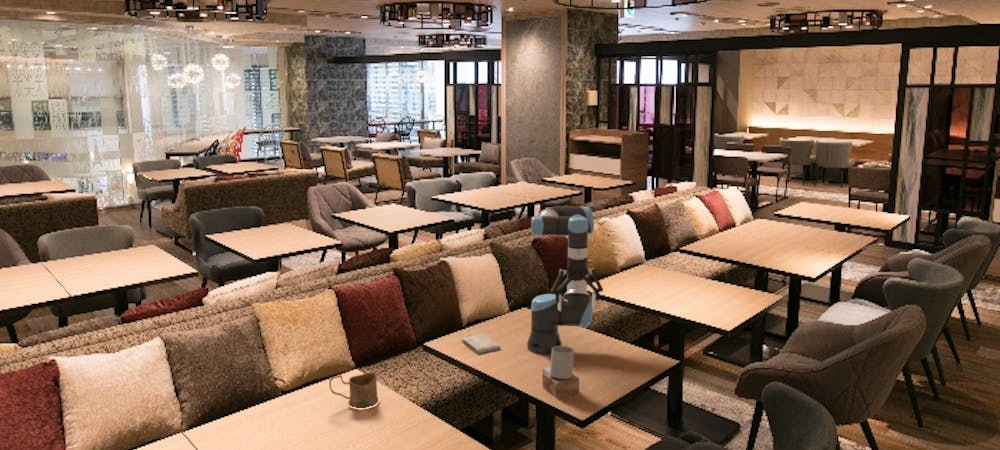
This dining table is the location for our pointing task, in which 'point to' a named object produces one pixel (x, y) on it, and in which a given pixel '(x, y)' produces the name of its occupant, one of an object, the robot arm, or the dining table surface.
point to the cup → (562, 362)
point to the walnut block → (560, 385)
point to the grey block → (546, 369)
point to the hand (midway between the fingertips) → (576, 309)
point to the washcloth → (480, 343)
